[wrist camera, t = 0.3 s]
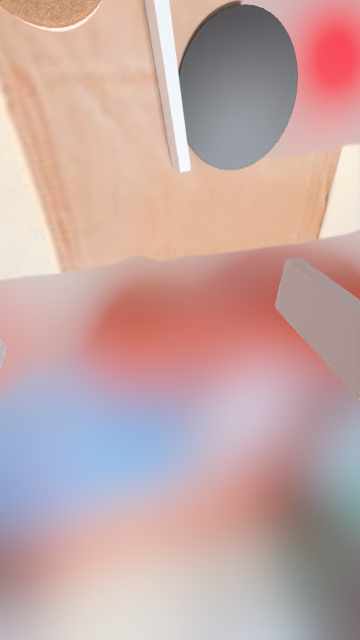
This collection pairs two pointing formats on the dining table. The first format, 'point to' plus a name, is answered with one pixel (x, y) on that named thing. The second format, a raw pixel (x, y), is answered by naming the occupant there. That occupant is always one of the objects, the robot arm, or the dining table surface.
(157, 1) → the low wall
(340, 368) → the robot arm
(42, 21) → the lidded jar
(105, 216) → the dining table surface
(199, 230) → the dining table surface
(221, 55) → the gray round disc
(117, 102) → the dining table surface
